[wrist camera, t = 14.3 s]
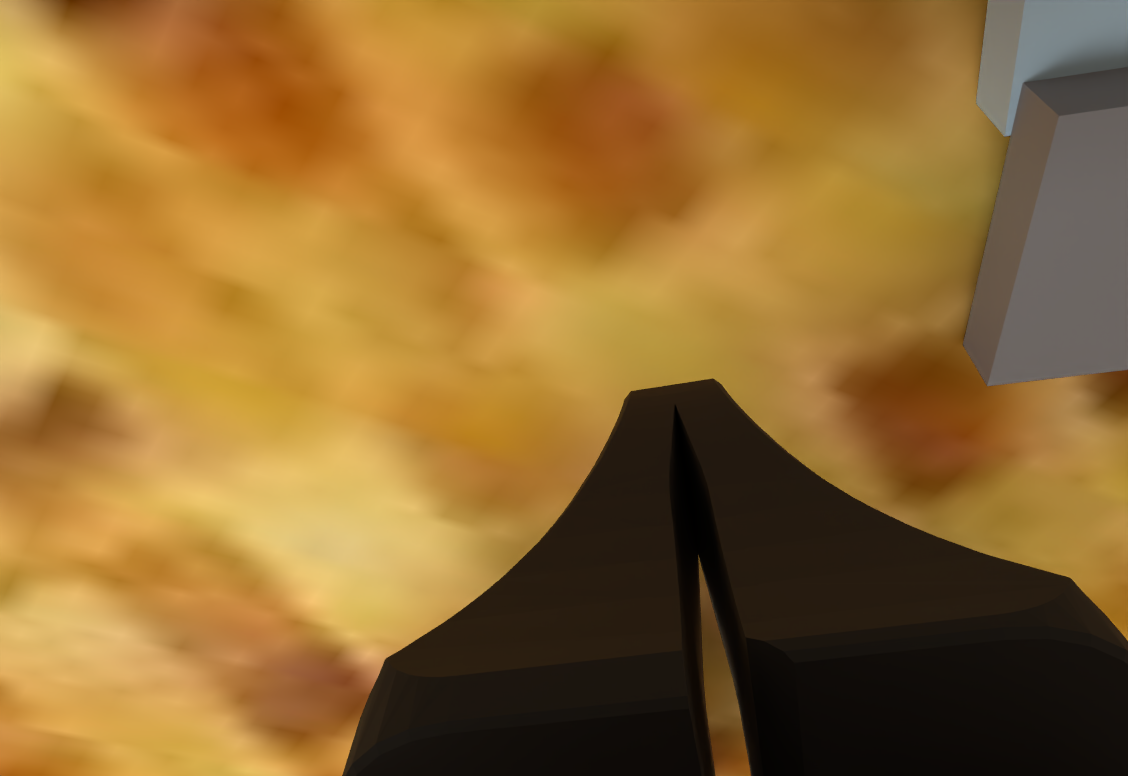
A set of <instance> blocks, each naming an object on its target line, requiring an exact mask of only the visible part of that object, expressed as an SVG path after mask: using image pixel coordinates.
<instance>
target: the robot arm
mask: <svg viewBox="0 0 1128 776" xmlns="http://www.w3.org/2000/svg"><path fill="white" fill-rule="evenodd" d="M698 555H699V558H700V562H701V566H702V569H703V573H704V577H705V580H706V584H707V587H708V591H709V595H710V598H711V602H712V605H713V609H714V613H715V616H716V620H717V623H718V627H719V631H720V634H721V638H722V641H723V645H724V648H725V652H726V656H727V659H728V663H729V666H730V670H731V674H732V677H733V682H734V686H735V690H736V695H737V699H738V703H739V708H740V714H741V720H742V725H743V731H744V737H745V742H746V748H747V754H748V760H749V765H750V771H751V776H1128V641H1127V640H1126V638H1125V637H1124V636H1123V635H1122V633H1121V632H1120V631H1119V630H1118V629H1117V628H1116V627H1115V625H1114V624H1113V623H1112V622H1111V621H1110V620H1109V618H1108V617H1107V616H1106V615H1105V614H1104V613H1103V612H1102V611H1101V610H1100V609H1099V608H1098V607H1097V606H1096V605H1095V604H1094V603H1093V602H1092V601H1091V600H1090V599H1089V598H1088V597H1087V596H1086V595H1085V594H1084V593H1083V592H1082V590H1081V589H1080V588H1079V587H1078V586H1077V585H1076V584H1075V582H1074V581H1073V580H1072V579H1071V578H1069V577H1065V576H1062V575H1058V574H1054V573H1051V572H1047V571H1043V570H1040V569H1036V568H1033V567H1029V566H1025V565H1022V564H1018V563H1014V562H1011V561H1007V560H1004V559H1000V558H996V557H993V556H989V555H986V554H983V553H980V552H977V551H974V550H972V549H969V548H966V547H963V546H961V545H958V544H955V543H952V542H949V541H947V540H944V539H941V538H938V537H936V536H933V535H931V534H929V533H926V532H924V531H921V530H919V529H917V528H914V527H912V526H909V525H907V524H905V523H903V522H901V521H899V520H897V519H895V518H893V517H890V516H888V515H886V514H884V513H882V512H880V511H878V510H876V509H874V508H872V507H870V506H868V505H866V504H864V503H862V502H861V501H859V500H857V499H855V498H853V497H851V496H850V495H848V494H847V493H845V492H843V491H842V490H840V489H838V488H837V487H835V486H834V485H832V484H830V483H829V482H827V481H825V480H824V479H822V478H821V477H820V476H818V475H817V474H815V473H814V472H813V471H811V470H810V469H809V468H807V467H806V466H805V465H804V464H802V463H801V462H800V461H798V460H797V459H796V458H794V457H793V456H792V455H791V454H789V453H788V452H787V451H786V450H785V449H784V448H782V447H781V446H780V445H779V444H778V443H777V442H775V441H774V440H773V439H772V438H771V437H770V436H769V435H768V434H767V433H766V432H764V431H763V430H762V429H761V428H760V427H759V426H758V425H757V424H756V423H755V422H754V421H753V420H752V419H751V418H750V417H749V416H748V415H747V414H746V413H745V412H744V411H743V410H742V409H741V408H740V407H739V406H738V404H737V403H736V402H735V401H734V400H733V399H732V398H731V396H730V395H729V394H728V393H727V391H726V390H725V389H724V387H723V386H722V385H721V384H720V383H719V382H717V381H716V380H715V379H708V380H701V381H695V382H688V383H682V384H675V385H669V386H662V387H656V388H649V389H643V390H636V391H631V392H630V393H629V395H628V396H627V397H626V398H625V400H624V403H623V407H622V409H621V412H620V415H619V417H618V419H617V422H616V424H615V426H614V428H613V430H612V433H611V435H610V437H609V439H608V441H607V443H606V444H605V446H604V448H603V450H602V452H601V454H600V456H599V458H598V459H597V461H596V463H595V465H594V467H593V468H592V470H591V472H590V473H589V475H588V476H587V478H586V479H585V481H584V483H583V484H582V486H581V487H580V489H579V490H578V492H577V493H576V495H575V496H574V498H573V499H572V501H571V502H570V504H569V505H568V506H567V508H566V509H565V511H564V512H563V513H562V515H561V516H560V517H559V518H558V520H557V521H556V522H555V523H554V525H553V526H552V527H551V528H550V529H549V531H548V532H547V533H546V534H545V535H544V537H543V538H542V539H541V540H540V541H539V542H538V543H537V544H536V545H535V546H534V547H533V548H532V549H531V550H530V551H529V552H528V553H527V554H526V555H525V556H524V557H523V558H522V559H521V560H520V561H519V562H518V563H517V564H516V565H515V566H514V567H513V568H512V569H511V570H510V571H509V572H508V573H507V574H506V575H504V576H503V577H502V578H501V579H500V580H499V581H497V582H496V583H495V584H494V585H493V586H491V587H490V588H489V589H488V590H487V591H485V592H484V593H483V594H482V595H481V596H479V597H478V598H477V599H475V600H474V601H473V602H471V603H470V604H469V605H467V606H466V607H465V608H463V609H462V610H461V611H460V612H458V613H457V614H455V615H454V616H452V617H451V618H450V619H448V620H447V621H445V622H444V623H442V624H441V625H439V626H438V627H436V628H435V629H433V630H431V631H430V632H428V633H427V634H425V635H424V636H422V637H420V638H419V639H417V640H416V641H414V642H413V643H411V644H409V645H408V646H406V647H405V648H403V649H402V650H400V651H398V652H397V653H395V654H393V655H391V656H390V657H388V658H386V660H385V661H384V664H383V666H382V669H381V671H380V674H379V676H378V678H377V680H376V682H375V685H374V687H373V689H372V691H371V693H370V695H369V698H368V700H367V703H366V705H365V708H364V710H363V713H362V715H361V718H360V721H359V724H358V727H357V730H356V733H355V737H354V740H353V743H352V746H351V750H350V753H349V756H348V759H347V762H346V766H345V769H344V772H343V775H342V776H715V769H714V762H713V755H712V748H711V741H710V734H709V727H708V720H707V712H706V703H705V692H704V680H703V657H702V633H701V609H700V585H699V563H698Z"/></svg>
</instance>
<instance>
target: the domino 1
mask: <svg viewBox="0 0 1128 776" xmlns="http://www.w3.org/2000/svg"><path fill="white" fill-rule="evenodd" d="M1124 67H1128V0H988V5H987V13H986V22H985V30H984V38H983V47H982V55H981V64H980V72H979V80H978V89H977V97H976V104H977V105H978V106H979V108H980V109H981V110H982V111H983V112H984V113H985V115H986V116H987V117H988V118H989V119H990V120H991V122H992V123H993V124H994V125H995V126H996V127H997V129H998V130H999V131H1000V132H1001V133H1002V134H1003V135H1004V137H1005V136H1010V135H1011V132H1012V128H1013V123H1014V119H1015V114H1016V110H1017V106H1018V101H1019V97H1020V92H1021V88H1022V84H1023V83H1024V82H1031V81H1037V80H1044V79H1051V78H1057V77H1064V76H1071V75H1077V74H1084V73H1091V72H1097V71H1104V70H1111V69H1118V68H1124Z"/></svg>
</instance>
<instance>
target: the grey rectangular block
mask: <svg viewBox="0 0 1128 776" xmlns="http://www.w3.org/2000/svg"><path fill="white" fill-rule="evenodd" d="M963 346H964V348H965V350H966V351H967V353H968V355H969V356H970V358H971V360H972V361H973V363H974V365H975V366H976V368H977V370H978V371H979V373H980V375H981V377H982V378H983V380H984V382H985V383H986V385H987V386H993V385H1002V384H1010V383H1019V382H1027V381H1036V380H1044V379H1053V378H1061V377H1070V376H1078V375H1087V374H1095V373H1104V372H1112V371H1121V370H1128V67H1124V68H1118V69H1111V70H1104V71H1097V72H1091V73H1084V74H1077V75H1071V76H1064V77H1057V78H1051V79H1044V80H1037V81H1031V82H1024V83H1023V84H1022V88H1021V92H1020V97H1019V101H1018V106H1017V110H1016V114H1015V119H1014V123H1013V128H1012V132H1011V136H1010V141H1009V145H1008V149H1007V154H1006V158H1005V163H1004V167H1003V171H1002V176H1001V180H1000V184H999V189H998V193H997V198H996V202H995V206H994V211H993V215H992V220H991V224H990V228H989V233H988V237H987V241H986V246H985V250H984V255H983V259H982V263H981V268H980V272H979V276H978V281H977V285H976V290H975V294H974V298H973V303H972V307H971V311H970V316H969V320H968V325H967V329H966V333H965V338H964V342H963Z"/></svg>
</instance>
